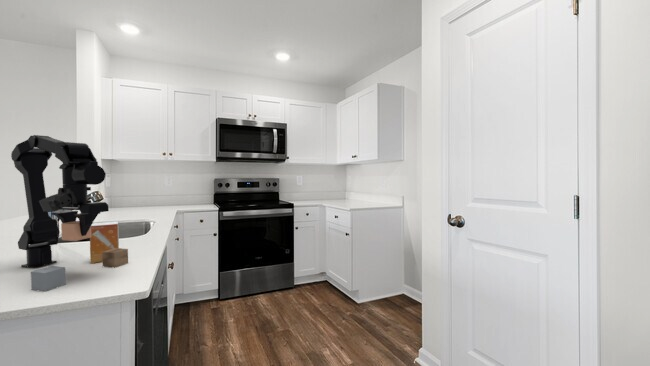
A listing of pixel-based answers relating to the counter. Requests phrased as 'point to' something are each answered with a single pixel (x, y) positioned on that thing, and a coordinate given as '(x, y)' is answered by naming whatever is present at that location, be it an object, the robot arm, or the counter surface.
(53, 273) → the slate cube
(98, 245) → the small box
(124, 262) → the walnut cube
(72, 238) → the terracotta cube
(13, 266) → the counter surface
